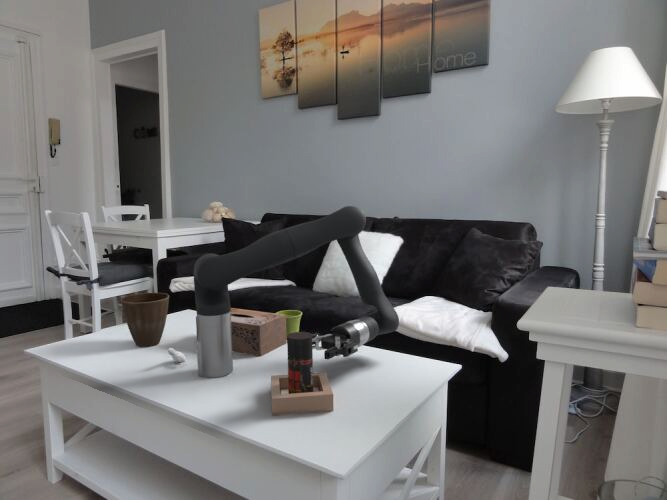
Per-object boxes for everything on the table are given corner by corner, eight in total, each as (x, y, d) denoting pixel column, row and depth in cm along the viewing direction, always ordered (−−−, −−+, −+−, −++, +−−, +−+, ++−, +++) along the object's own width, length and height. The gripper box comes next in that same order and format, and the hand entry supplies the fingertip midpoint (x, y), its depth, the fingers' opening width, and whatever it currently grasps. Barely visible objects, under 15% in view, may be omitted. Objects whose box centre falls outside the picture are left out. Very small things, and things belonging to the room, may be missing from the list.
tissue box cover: (197, 346, 162) (195, 316, 161) (225, 334, 175) (224, 307, 173) (260, 357, 150) (259, 325, 149) (286, 344, 163) (285, 314, 162)
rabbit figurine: (190, 359, 149) (188, 355, 141) (182, 370, 147) (180, 367, 140) (173, 348, 149) (170, 344, 141) (165, 360, 147) (162, 356, 140)
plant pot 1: (181, 341, 166) (178, 295, 164) (143, 354, 154) (140, 304, 152) (152, 335, 174) (150, 290, 172) (114, 346, 162) (111, 299, 160)
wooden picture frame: (272, 415, 111) (271, 398, 110) (271, 390, 124) (270, 375, 124) (333, 410, 113) (333, 394, 112) (325, 386, 126) (325, 371, 126)
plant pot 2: (298, 342, 163) (298, 317, 162) (271, 341, 165) (271, 316, 164) (305, 334, 172) (305, 310, 171) (280, 333, 174) (279, 309, 173)
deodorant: (288, 391, 121) (287, 332, 119) (312, 390, 122) (311, 331, 120) (288, 401, 115) (287, 339, 113) (313, 400, 116) (312, 338, 114)
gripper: (328, 318, 137) (289, 332, 124) (371, 326, 129) (334, 342, 116) (329, 344, 138) (290, 361, 125) (371, 354, 130) (335, 373, 117)
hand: (311, 352), depth 121 cm, fingers open, 8 cm apart
